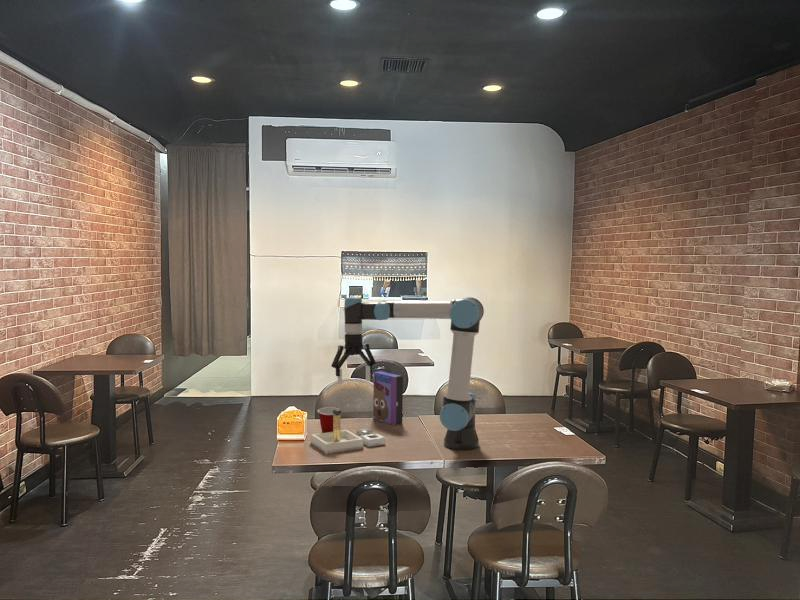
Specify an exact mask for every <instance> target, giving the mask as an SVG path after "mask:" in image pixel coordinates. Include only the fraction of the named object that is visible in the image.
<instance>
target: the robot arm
mask: <svg viewBox="0 0 800 600" xmlns="http://www.w3.org/2000/svg"><path fill="white" fill-rule="evenodd" d="M343 309H344V311H343V312H344V333H345V334H344V345H340V344H339V345H338V346H337V352H336V354H335V356H334V358H333V360H332V363H331V368H334V369H335V376H336V377H337V384H339V385H342V384H343V369H342V366H343V365H344V363H345V362H346V360H347V359H348V358H349V356H354V355H355V356H359V357H360V358H361V359H362V360H363V362H365V364H366V365H365V381H367V382H371V374H372V371H373V370H372V369H373V366H374V365H375V364H377V361H376V360H375V358H374V356H373V354H372V351H371V349H370V344H369V343H367V342H365V343H363V334H362V333H363V320H365V321H367V320H368V321H369V320H371V321H383V320H384V321H386V320H388V319H425V320H426V319H428V320H429V319H434V320H450V329H449V330H450V331H451V333H453V337H452V346H451V356H450V357H451V358H450V367H449V376H448V384H447V385H448V387H447V391H446V392H445V393H444V394H443V400H442V407H441V409H440V411H439V420H440V423H441V425H442V426H444V428H446V429H447V430H446V433H445V436H444V437H443V445H444V446H445V447H446V448H449V449H453V450H459V449H460V450H463V451H465V450H467V449H468V450H474V449H477V448H479V446H480V441H479V437H478V433H477V429H476V402H477V399H476V394H475V393H473V392H470V384H471V374H472V367H473V366H472V364H473V354H474V343H475V337H476V336H477V335H478V334H479V331H480V326H481V325H480V324H481V323H480V322H481V321H482V319H483V316H484V313H485V310H484V306H483V303H482V302H481V301H480V300H479V299H477V298H475V297H471V296H470V297H462V298H455V299H454V298H453V299H452V300H451V301H436V300H435V301H432V300H431V301H427V300H426V301H425V300H422V301H421V300H416V301H415V300H381V301H372V302H371V301H370V302H369V301H368V302H367V301H366V302H365V301H363V299H362V297H346V298H345V299H344V308H343ZM362 349H364V351H363V350H362ZM344 350H345V351H344ZM343 351H344V352H343ZM364 352H365V353H364ZM342 354H343V355H342ZM366 355H367V356H366ZM476 447H477V448H476ZM473 448H474V449H473ZM460 450H459V451H460ZM468 450H467V451H468Z"/></svg>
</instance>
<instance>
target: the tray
mask: <svg viewBox="0 0 800 600" xmlns="http://www.w3.org/2000/svg"><path fill="white" fill-rule="evenodd" d="M363 441H364V439H362V438H361V436H358V435H356V434H355V433H353V432H351V431H349V430H348V429H343V430H340V442H333V432H327V433H322V432H320V433H319V432H318V433H313V434H310V445H312V446H313V447H315V448H317V449H318V450H319V451H321V452H323V453H324V454H325V455H327V454H328V453H329V454H335V453H341V452H348V451H349V452H350V451H353V450H354V451H355V450H362V449H364V444H363ZM334 452H335V453H334Z"/></svg>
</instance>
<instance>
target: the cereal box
mask: <svg viewBox="0 0 800 600" xmlns="http://www.w3.org/2000/svg"><path fill="white" fill-rule="evenodd" d="M372 383H373V385H372V386H373V388H372V389H373V393H372V394H373V395H372V396H373V397H372V398H373V401H372V405H373V407H372V408H373V409H372V412H373V413H372V416H373V417H372V419H373V420H376V419H378V420H377V421H379V420H382V421H384V422H383V423H385V422H387V423H386V424H388V423H390V424H389V425H392V424H394V425H393V426H398V425H397V424H400V425H403V405H404V404H403V403H404V402H403V399H404V398H403V397H404V396H403V393H404V391H403V389H404V388H403V387H404V375H399V374H394V373H389V372H385V371H374V372H373V382H372ZM382 421H381V422H382Z"/></svg>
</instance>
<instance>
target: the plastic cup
mask: <svg viewBox="0 0 800 600" xmlns="http://www.w3.org/2000/svg"><path fill="white" fill-rule="evenodd" d="M333 410H341V409H340V408H337V407H332V406H331V407H327V406H326V407H321V408H319V409H317V413H318V417H319V420H320V422H319V423H320V429H321V433H327V432H333Z"/></svg>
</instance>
